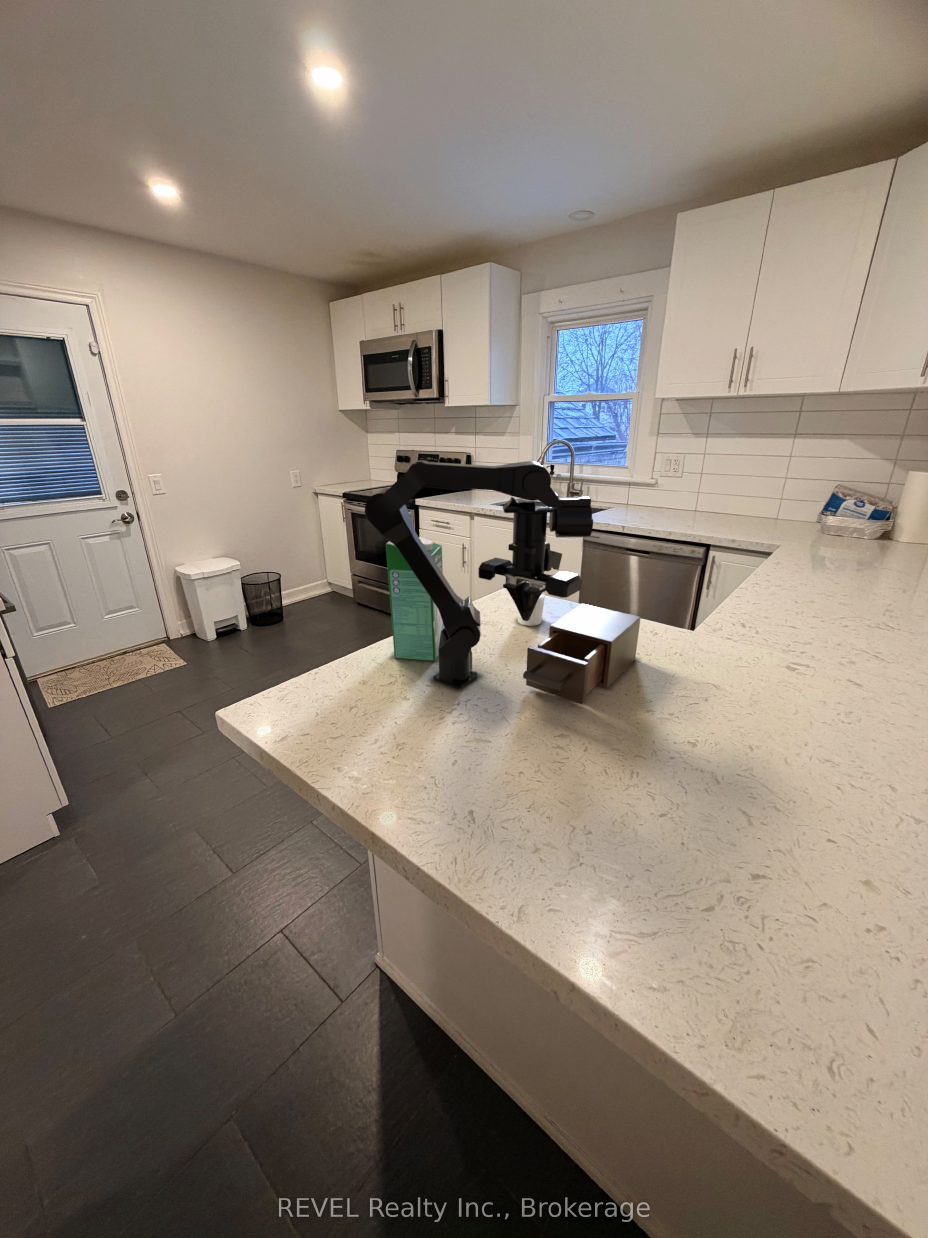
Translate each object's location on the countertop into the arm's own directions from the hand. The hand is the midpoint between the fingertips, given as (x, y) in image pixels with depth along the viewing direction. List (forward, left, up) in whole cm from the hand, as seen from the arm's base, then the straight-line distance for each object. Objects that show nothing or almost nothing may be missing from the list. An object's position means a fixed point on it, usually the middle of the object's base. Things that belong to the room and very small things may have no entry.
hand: (526, 620), depth 92 cm
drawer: (+1, -8, -11) cm, 14 cm away
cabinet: (+13, -8, -12) cm, 20 cm away
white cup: (+25, +14, -12) cm, 31 cm away
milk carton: (-3, +25, -12) cm, 28 cm away
